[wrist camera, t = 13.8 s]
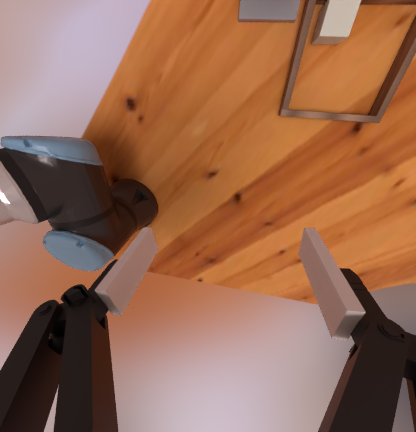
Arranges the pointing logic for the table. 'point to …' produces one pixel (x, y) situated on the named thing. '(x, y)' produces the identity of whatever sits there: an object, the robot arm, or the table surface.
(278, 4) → the slate pad
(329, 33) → the light grey cube
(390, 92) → the walnut frame
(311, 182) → the table surface
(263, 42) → the table surface
